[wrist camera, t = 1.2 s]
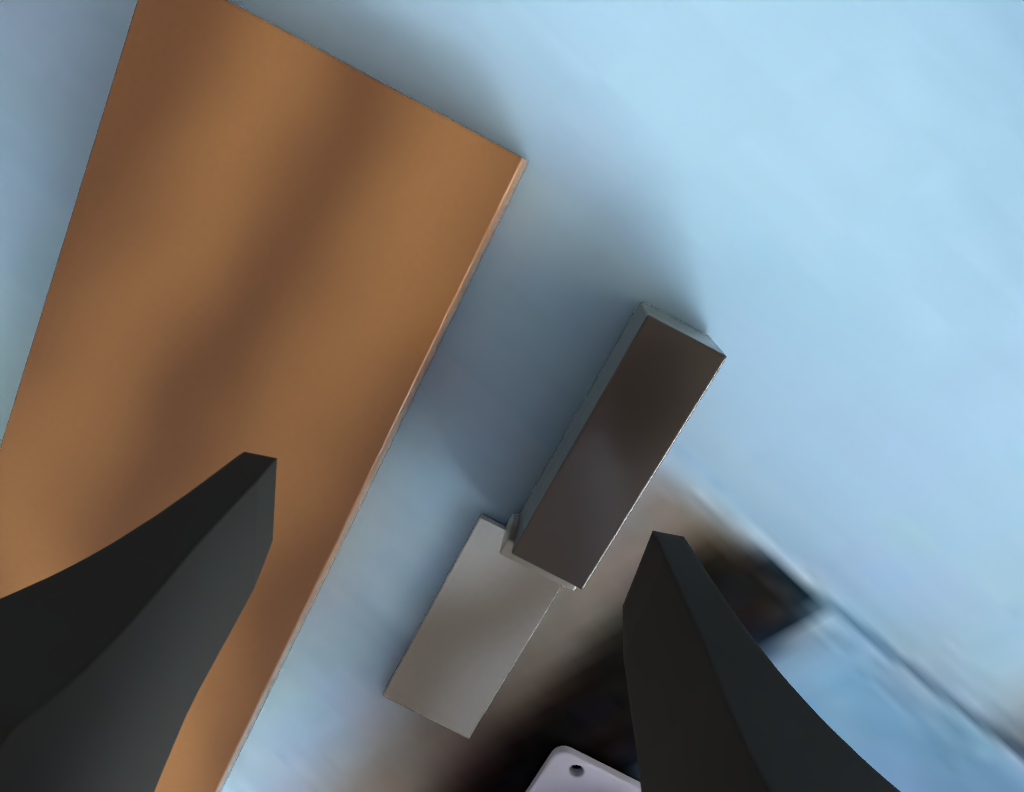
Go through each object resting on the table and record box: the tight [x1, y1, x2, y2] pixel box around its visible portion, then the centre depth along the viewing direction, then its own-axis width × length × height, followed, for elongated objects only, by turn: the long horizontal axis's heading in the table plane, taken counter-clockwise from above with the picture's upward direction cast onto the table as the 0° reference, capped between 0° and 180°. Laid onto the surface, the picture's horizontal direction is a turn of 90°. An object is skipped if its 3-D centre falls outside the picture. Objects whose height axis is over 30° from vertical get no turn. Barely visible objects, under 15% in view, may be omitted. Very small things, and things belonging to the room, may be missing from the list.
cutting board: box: [0, 0, 528, 792], centre depth 24 cm, size 11×26×2 cm, turn 153°
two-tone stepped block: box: [383, 301, 726, 739], centre depth 23 cm, size 4×17×3 cm, turn 153°
